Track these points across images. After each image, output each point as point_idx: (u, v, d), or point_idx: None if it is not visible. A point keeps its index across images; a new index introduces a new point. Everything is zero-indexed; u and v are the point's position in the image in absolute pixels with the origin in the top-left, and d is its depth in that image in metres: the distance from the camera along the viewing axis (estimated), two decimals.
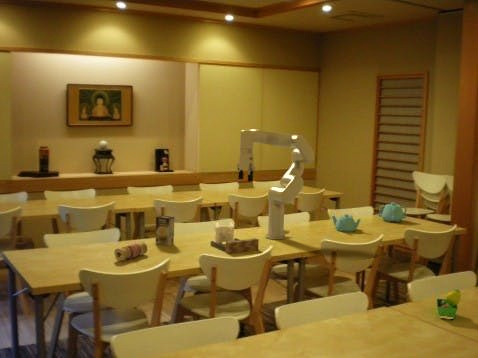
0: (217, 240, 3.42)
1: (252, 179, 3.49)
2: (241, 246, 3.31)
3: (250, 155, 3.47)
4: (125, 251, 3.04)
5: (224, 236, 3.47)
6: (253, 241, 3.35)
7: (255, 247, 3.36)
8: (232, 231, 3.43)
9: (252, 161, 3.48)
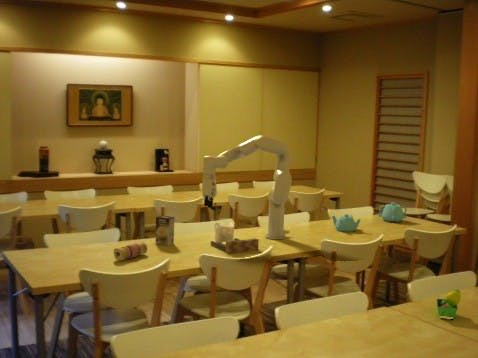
0: (217, 240, 3.42)
1: (212, 205, 3.61)
2: (241, 246, 3.31)
3: (212, 180, 3.56)
4: (124, 251, 3.04)
5: (224, 236, 3.47)
6: (253, 241, 3.35)
7: (255, 247, 3.36)
8: (232, 231, 3.43)
9: (214, 186, 3.57)
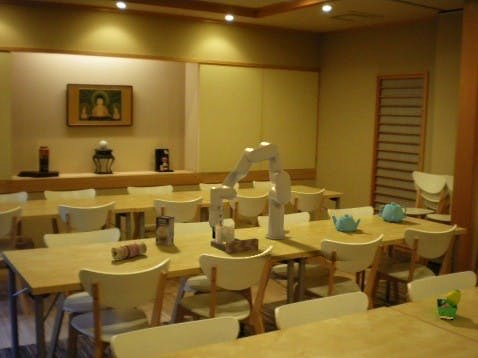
0: (218, 240, 3.41)
1: None
2: (241, 246, 3.31)
3: (219, 212, 3.51)
4: (121, 250, 3.05)
5: (225, 236, 3.46)
6: (253, 241, 3.35)
7: (255, 247, 3.36)
8: (233, 231, 3.42)
9: (221, 218, 3.52)
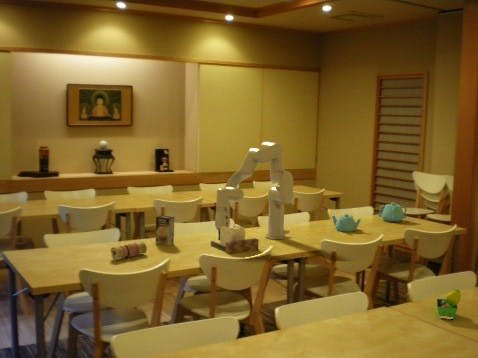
0: None
1: None
2: (241, 246, 3.31)
3: (226, 214, 3.44)
4: (120, 250, 3.06)
5: (234, 238, 3.41)
6: (253, 241, 3.35)
7: (255, 247, 3.36)
8: (244, 233, 3.39)
9: (228, 220, 3.45)
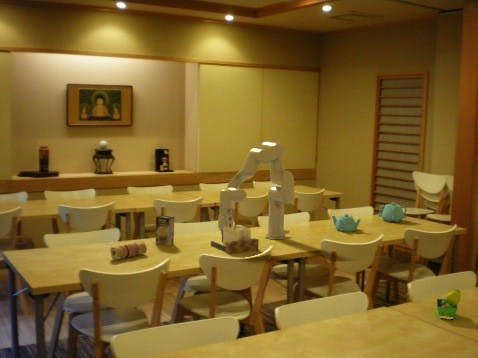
0: None
1: None
2: (241, 246, 3.31)
3: (229, 215, 3.42)
4: (120, 250, 3.06)
5: (239, 239, 3.40)
6: (253, 241, 3.35)
7: (255, 247, 3.36)
8: (250, 233, 3.38)
9: (231, 221, 3.43)
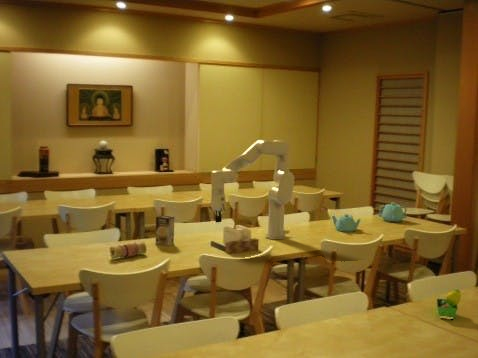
0: None
1: (221, 220, 3.55)
2: (241, 246, 3.31)
3: (221, 196, 3.49)
4: (119, 250, 3.07)
5: (239, 239, 3.39)
6: (253, 241, 3.35)
7: (255, 247, 3.36)
8: (250, 233, 3.38)
9: (224, 201, 3.50)
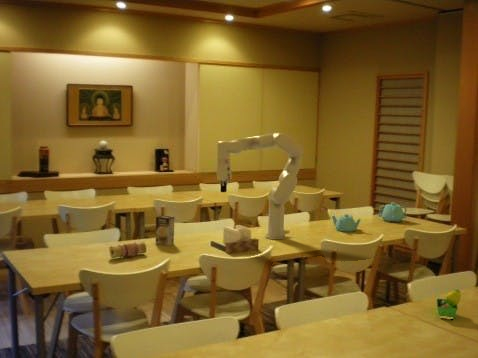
0: None
1: (226, 190, 3.61)
2: (241, 246, 3.31)
3: (227, 166, 3.55)
4: (118, 249, 3.07)
5: (239, 239, 3.39)
6: (253, 241, 3.35)
7: (255, 247, 3.36)
8: (250, 233, 3.38)
9: (229, 171, 3.56)
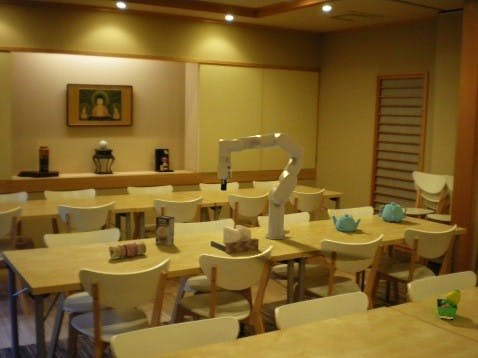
0: None
1: (226, 188, 3.62)
2: (241, 246, 3.31)
3: (228, 164, 3.56)
4: (118, 249, 3.07)
5: (239, 239, 3.39)
6: (253, 241, 3.35)
7: (255, 247, 3.36)
8: (250, 233, 3.38)
9: (230, 170, 3.57)
